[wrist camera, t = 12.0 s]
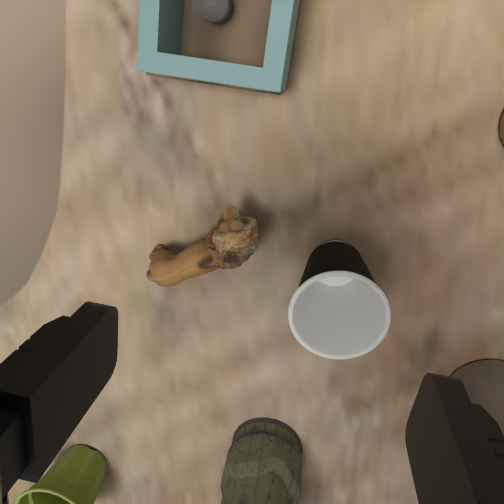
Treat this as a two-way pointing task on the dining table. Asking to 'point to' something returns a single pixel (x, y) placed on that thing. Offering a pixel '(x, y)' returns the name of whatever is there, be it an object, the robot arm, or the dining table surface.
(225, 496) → the thermos
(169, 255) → the lion figurine
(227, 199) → the dining table surface
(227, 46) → the shaft block
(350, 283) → the dixie cup
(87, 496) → the plant pot
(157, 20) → the collar
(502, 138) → the paper tube
